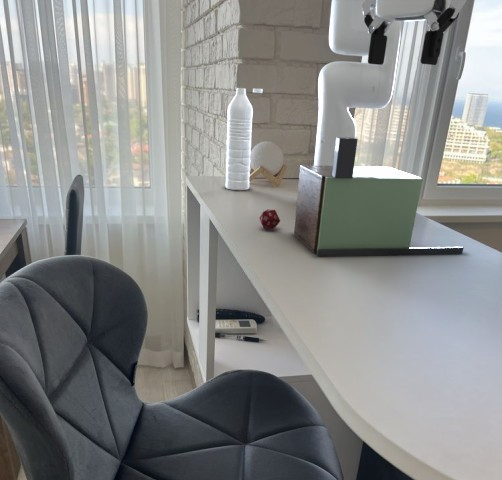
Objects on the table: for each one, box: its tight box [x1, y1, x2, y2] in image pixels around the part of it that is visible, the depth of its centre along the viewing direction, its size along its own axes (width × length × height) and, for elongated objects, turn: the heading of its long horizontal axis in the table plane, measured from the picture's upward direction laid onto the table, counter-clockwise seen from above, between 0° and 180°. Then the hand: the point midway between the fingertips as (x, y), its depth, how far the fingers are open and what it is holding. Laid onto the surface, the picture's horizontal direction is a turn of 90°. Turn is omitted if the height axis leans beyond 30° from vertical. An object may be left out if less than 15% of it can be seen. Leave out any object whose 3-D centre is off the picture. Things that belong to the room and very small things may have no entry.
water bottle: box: [225, 87, 264, 191], centre depth 134 cm, size 9×6×25 cm
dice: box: [259, 209, 281, 230], centre depth 100 cm, size 4×4×4 cm
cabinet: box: [293, 164, 465, 257], centre depth 92 cm, size 14×28×13 cm, turn 102°
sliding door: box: [317, 137, 424, 249], centre depth 85 cm, size 2×17×19 cm, turn 102°
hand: (400, 64), depth 76 cm, fingers open, 9 cm apart
